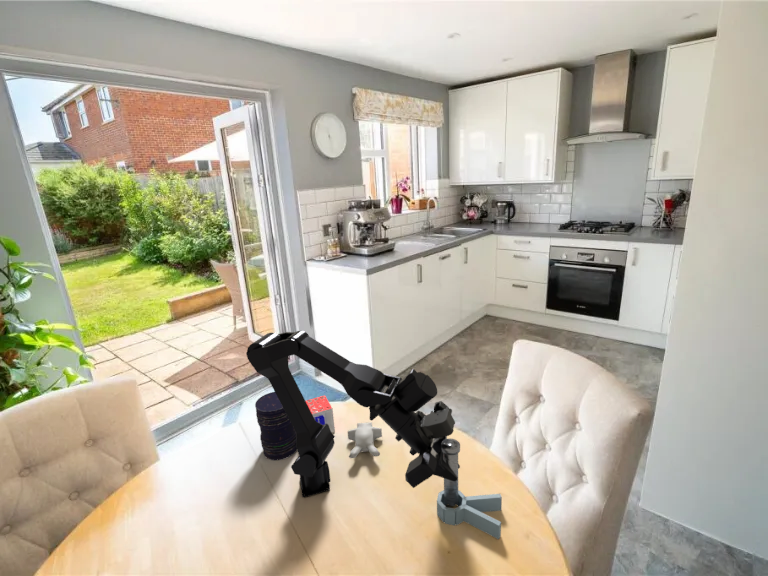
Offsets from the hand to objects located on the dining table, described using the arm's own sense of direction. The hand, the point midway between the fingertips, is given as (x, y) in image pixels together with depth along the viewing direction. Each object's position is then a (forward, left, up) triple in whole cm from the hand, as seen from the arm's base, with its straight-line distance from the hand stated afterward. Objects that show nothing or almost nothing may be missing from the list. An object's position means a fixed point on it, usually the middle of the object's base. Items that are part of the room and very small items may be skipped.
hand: (457, 473), depth 80 cm
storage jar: (-35, +37, -11) cm, 52 cm away
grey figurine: (-13, +29, -11) cm, 33 cm away
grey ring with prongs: (+2, -1, -10) cm, 11 cm away
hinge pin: (-1, +1, -7) cm, 7 cm away
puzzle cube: (-24, +42, -11) cm, 49 cm away
